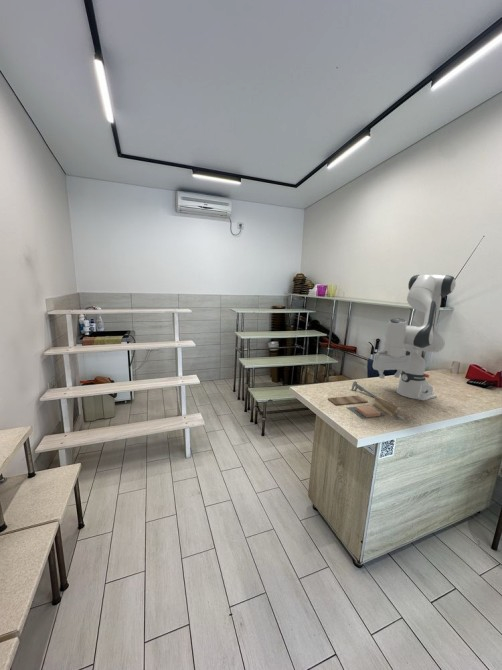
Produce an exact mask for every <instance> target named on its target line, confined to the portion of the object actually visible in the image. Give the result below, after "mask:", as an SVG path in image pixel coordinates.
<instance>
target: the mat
mask: <svg viewBox="0 0 502 670" xmlns="http://www.w3.org/2000/svg"><path fill="white" fill-rule="evenodd" d="M360 406H361V405H359V406H349V407H346V409H347V410H349V411H350V412H352V413H353V414H354V415H355V416H357V417H359V418H360V419H362V420H364V419H371V418H372V419H373V418H381V417H383V418H384V417H386V415H385V414H383V413H382V412H380V413H381V414H380V416H375V417H365V416H364V415H362V414H361V413H359V412H358V411H357V410H356V407H360ZM366 406H370V405H366Z"/></svg>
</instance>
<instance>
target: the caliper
mask: <svg viewBox="0 0 502 670" xmlns="http://www.w3.org/2000/svg"><path fill="white" fill-rule="evenodd" d="M351 390H354V391H355V392H356V391H357V390H358V391H361V392H364V393H366V395H367V394H368V395H369V396H371V398H372V397H373V398H374V399H375V397H379V396H378V395H376V394H374V393H373V392H371V391H370V390H368V389H366V388H365V387H364V386H362V385H361V384H359V383H358V381H357V380H354V381H353V382H352V385H351Z"/></svg>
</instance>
